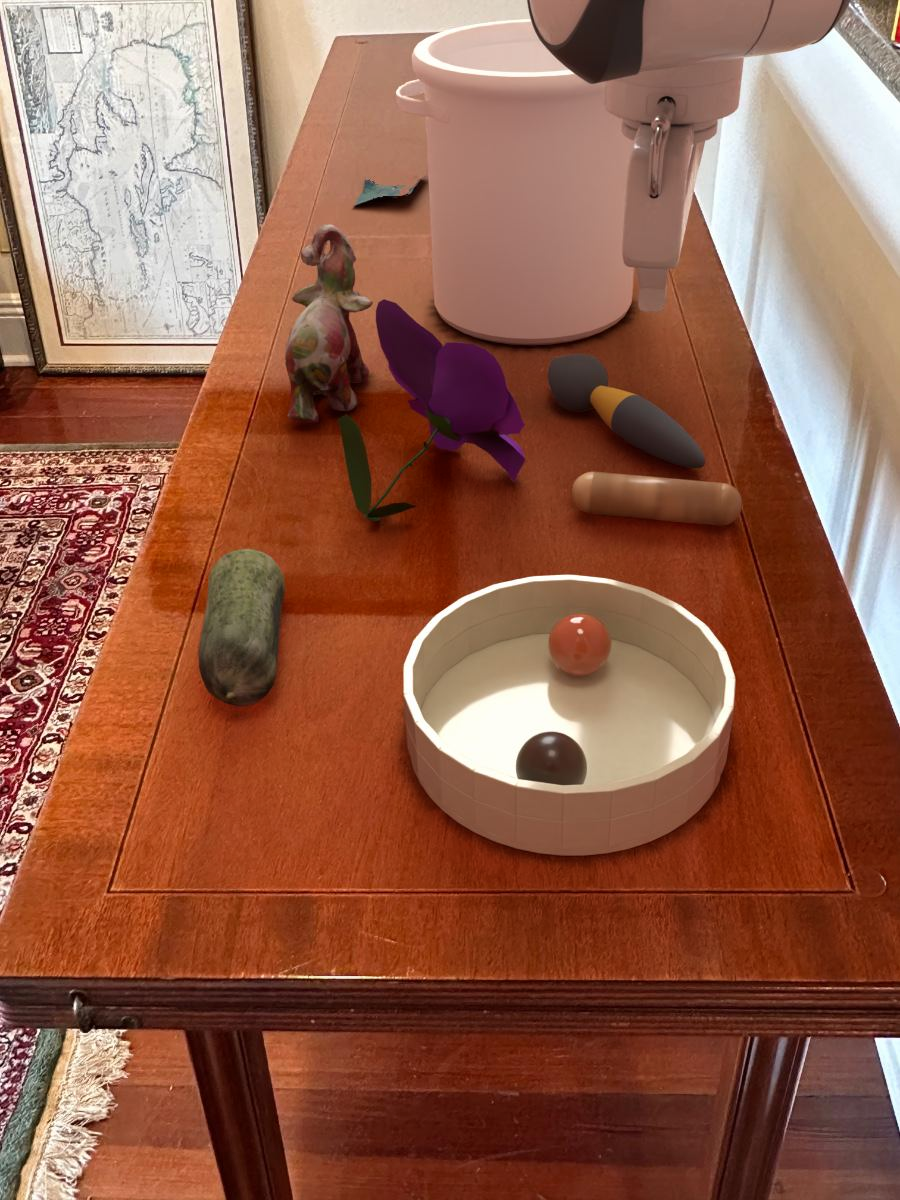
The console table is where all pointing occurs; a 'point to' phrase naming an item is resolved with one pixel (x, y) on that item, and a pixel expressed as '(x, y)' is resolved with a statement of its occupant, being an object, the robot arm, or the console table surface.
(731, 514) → the stick
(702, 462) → the paintbrush
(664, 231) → the robot arm
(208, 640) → the vegetable
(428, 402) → the flower
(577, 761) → the bead walnut
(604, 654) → the bead terracotta
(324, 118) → the console table surface
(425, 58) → the pot
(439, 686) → the bowl
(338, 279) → the figurine
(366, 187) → the terrain model
